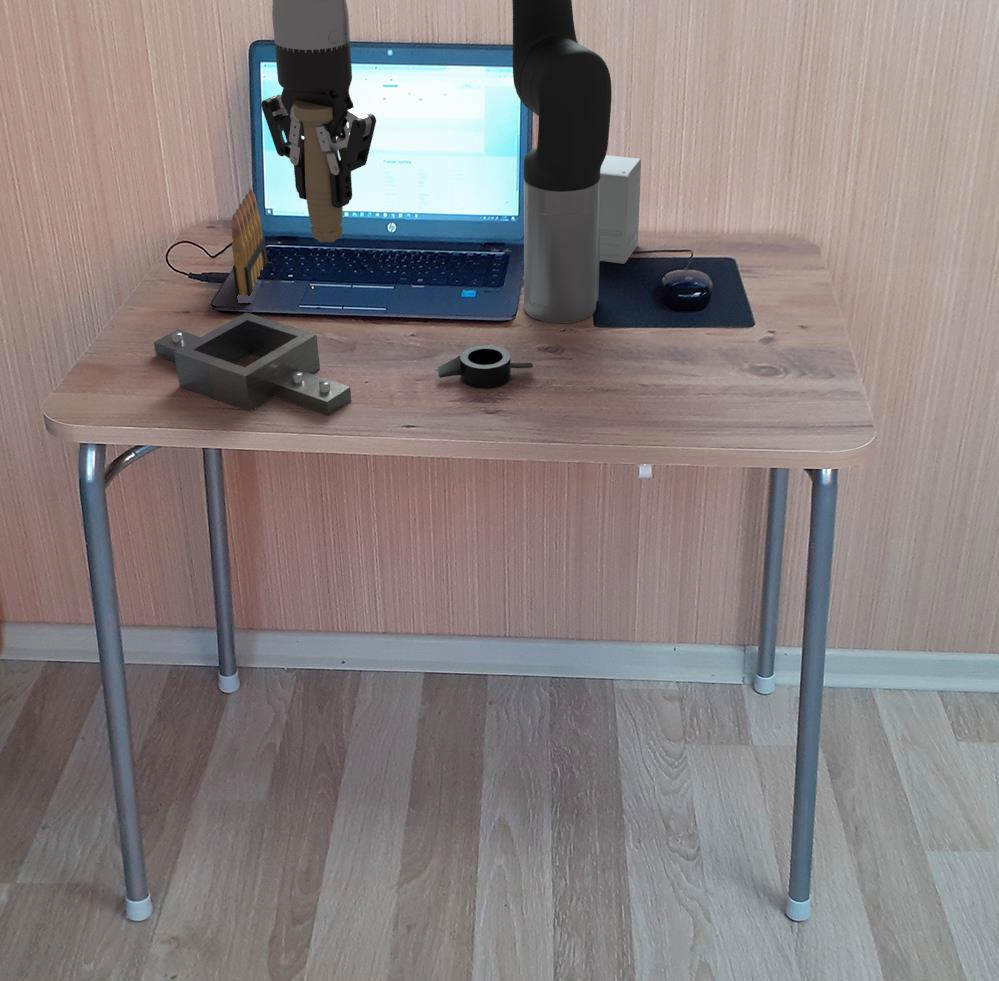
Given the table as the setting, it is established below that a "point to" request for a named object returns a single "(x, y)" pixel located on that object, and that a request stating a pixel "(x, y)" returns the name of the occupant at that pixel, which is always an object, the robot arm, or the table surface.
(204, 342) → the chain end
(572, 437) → the table surface
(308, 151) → the handle
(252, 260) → the ammunition clip
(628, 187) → the supplement box
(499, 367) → the dark grey winged ring
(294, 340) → the bracket
